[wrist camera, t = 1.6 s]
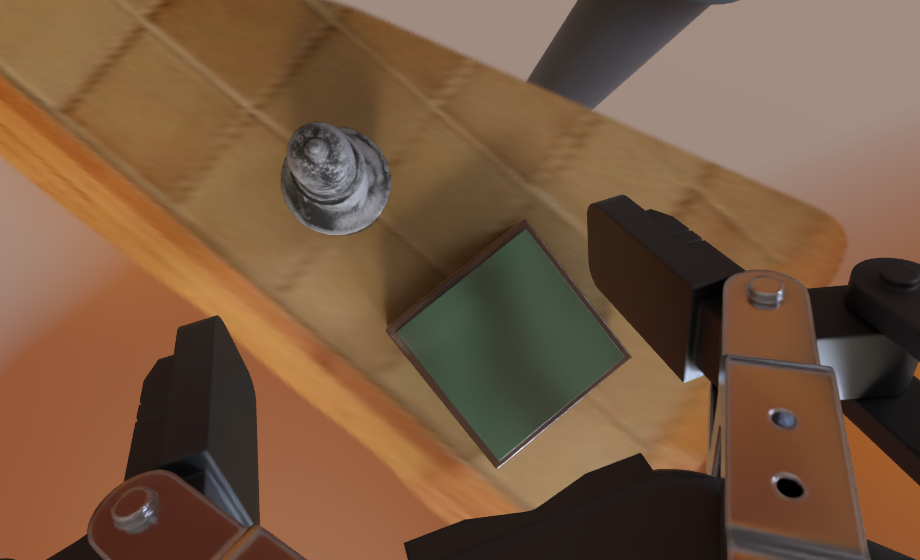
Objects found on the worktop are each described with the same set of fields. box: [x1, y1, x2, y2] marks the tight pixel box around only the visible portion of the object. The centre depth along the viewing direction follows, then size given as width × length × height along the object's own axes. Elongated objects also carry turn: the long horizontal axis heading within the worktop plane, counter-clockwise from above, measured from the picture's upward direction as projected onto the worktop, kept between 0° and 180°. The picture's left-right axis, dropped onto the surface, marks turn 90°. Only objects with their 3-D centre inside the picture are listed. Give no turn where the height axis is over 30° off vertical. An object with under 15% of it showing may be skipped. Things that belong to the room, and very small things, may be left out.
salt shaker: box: [281, 122, 391, 235], centre depth 30 cm, size 6×6×12 cm
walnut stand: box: [386, 220, 631, 469], centre depth 35 cm, size 10×10×4 cm
